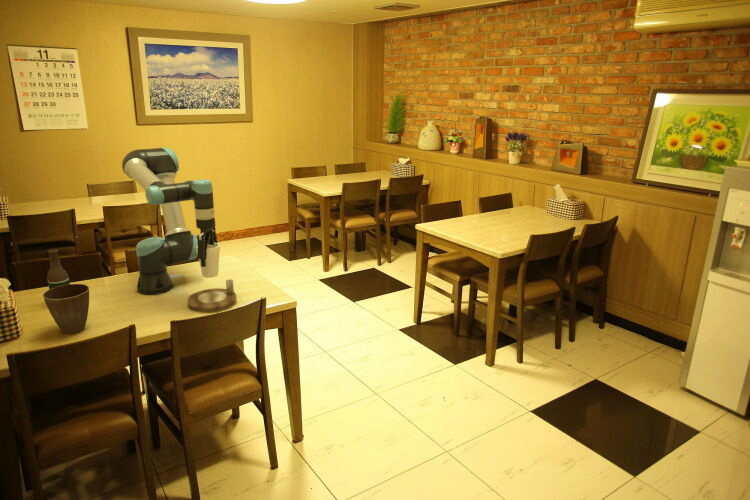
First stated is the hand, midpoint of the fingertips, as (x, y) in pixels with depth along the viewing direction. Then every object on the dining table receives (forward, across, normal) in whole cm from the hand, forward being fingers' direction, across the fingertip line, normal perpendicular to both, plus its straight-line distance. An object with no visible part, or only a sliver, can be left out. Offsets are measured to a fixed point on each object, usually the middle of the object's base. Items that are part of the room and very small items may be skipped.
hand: (209, 269), depth 216 cm
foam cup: (+3, 0, 0) cm, 3 cm away
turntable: (+14, 0, 0) cm, 14 cm away
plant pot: (+16, -30, +43) cm, 55 cm away
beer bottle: (+16, -7, +63) cm, 65 cm away
